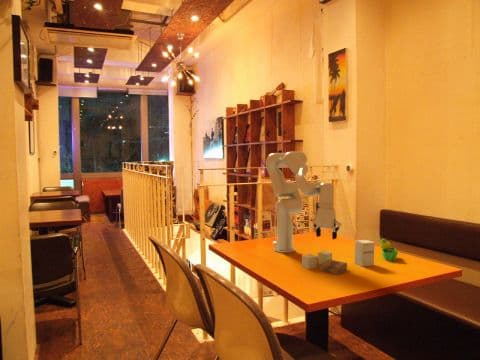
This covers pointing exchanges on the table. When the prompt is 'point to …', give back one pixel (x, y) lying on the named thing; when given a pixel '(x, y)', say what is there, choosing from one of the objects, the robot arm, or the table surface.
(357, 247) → the supplement box
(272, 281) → the table surface
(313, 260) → the grey block
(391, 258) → the fruit basket
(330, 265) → the walnut base
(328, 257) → the beige block
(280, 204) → the robot arm
